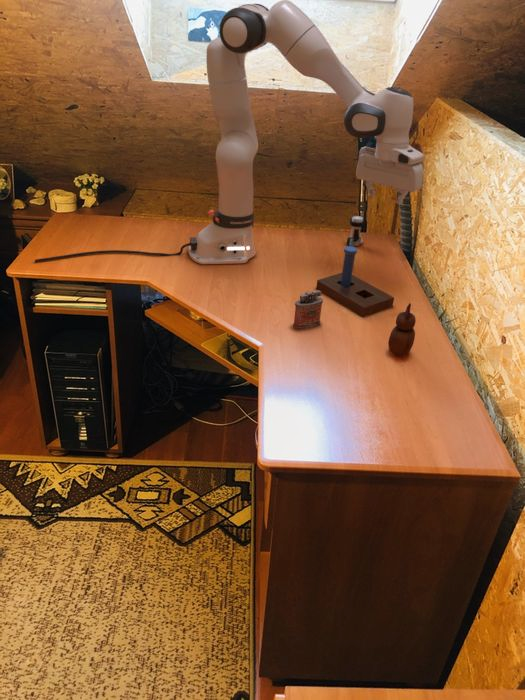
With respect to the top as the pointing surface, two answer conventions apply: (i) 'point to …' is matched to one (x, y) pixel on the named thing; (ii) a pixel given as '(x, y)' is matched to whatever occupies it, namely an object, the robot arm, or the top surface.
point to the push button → (355, 231)
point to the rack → (355, 295)
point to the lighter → (308, 310)
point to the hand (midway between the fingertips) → (384, 200)
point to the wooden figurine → (402, 334)
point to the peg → (348, 265)
